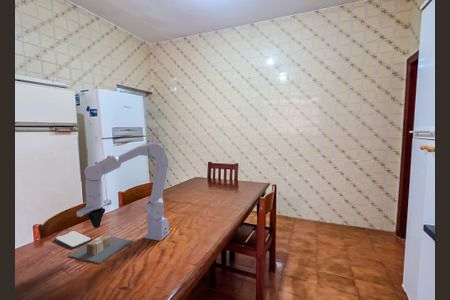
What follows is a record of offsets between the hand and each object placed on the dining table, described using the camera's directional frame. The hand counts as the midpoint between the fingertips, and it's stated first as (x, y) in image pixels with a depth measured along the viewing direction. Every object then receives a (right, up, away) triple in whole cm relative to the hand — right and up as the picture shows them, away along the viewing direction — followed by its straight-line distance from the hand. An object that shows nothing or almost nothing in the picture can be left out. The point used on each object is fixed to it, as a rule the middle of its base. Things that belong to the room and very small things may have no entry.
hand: (96, 227), depth 88 cm
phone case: (-16, -10, +10) cm, 22 cm away
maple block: (+1, -7, +5) cm, 9 cm away
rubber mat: (+1, -10, +3) cm, 11 cm away
